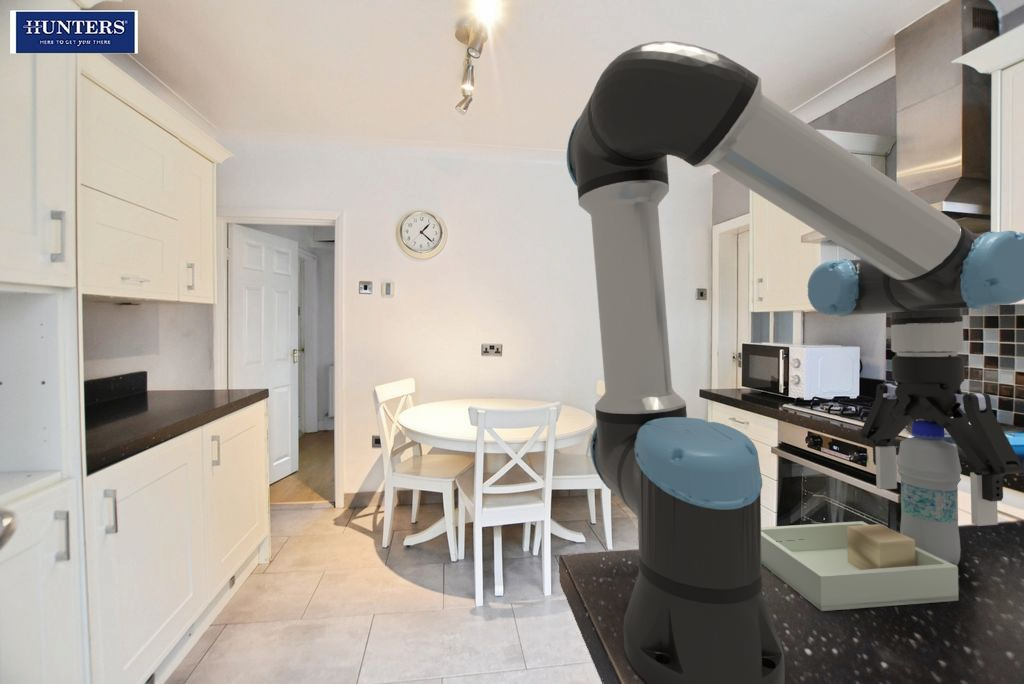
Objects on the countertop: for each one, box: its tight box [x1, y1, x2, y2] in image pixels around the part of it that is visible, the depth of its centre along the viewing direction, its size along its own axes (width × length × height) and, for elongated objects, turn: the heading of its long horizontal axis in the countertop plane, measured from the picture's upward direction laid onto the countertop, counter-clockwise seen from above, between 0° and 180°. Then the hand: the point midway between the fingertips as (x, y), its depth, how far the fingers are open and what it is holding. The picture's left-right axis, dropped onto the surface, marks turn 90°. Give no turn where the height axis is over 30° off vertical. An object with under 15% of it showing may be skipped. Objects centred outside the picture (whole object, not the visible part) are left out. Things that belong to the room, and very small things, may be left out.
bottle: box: [896, 420, 963, 567], centre depth 64 cm, size 7×7×20 cm
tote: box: [761, 520, 959, 612], centre depth 61 cm, size 18×14×4 cm
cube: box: [847, 523, 915, 570], centre depth 61 cm, size 5×5×5 cm
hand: (930, 504), depth 64 cm, fingers open, 13 cm apart
